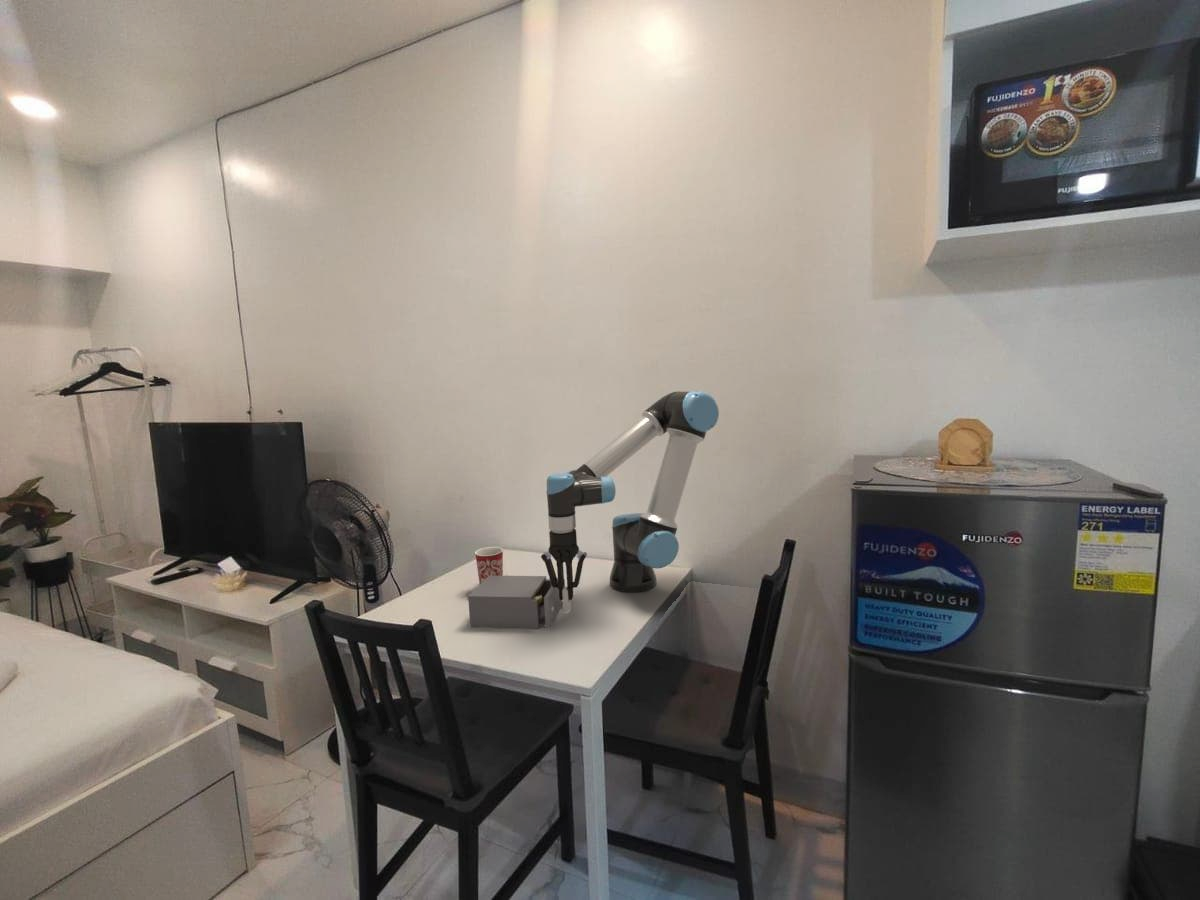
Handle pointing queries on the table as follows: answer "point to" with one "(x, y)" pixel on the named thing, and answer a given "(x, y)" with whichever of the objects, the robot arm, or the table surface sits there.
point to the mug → (489, 562)
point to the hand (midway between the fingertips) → (567, 610)
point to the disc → (538, 597)
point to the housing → (507, 602)
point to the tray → (549, 607)
